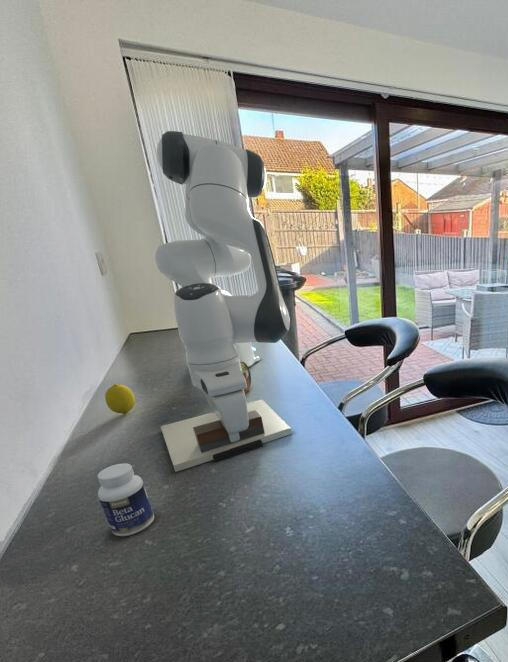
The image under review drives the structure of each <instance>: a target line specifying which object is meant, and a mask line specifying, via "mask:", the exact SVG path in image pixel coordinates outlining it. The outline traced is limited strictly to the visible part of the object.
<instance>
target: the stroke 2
mask: <svg viewBox="0 0 508 662" xmlns="http://www.w3.org/2000/svg"><path fill="white" fill-rule="evenodd" d="M229 451H230V453H231V457H234V456H237V455H240V454H243V453H246V452H248V451H247V447H246V445H245V444H244V445H241V446H238V447H235V448H232V449H229Z"/></svg>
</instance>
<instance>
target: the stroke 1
mask: <svg viewBox="0 0 508 662" xmlns="http://www.w3.org/2000/svg"><path fill="white" fill-rule="evenodd" d="M229 458H232V456H231V453H230V451H229V450H227V451H223V452H220V453H217V454H214V455H213V459H214V460H213V461H214V463H217V462H219V461H223V460H225V459H229Z"/></svg>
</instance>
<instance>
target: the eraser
mask: <svg viewBox="0 0 508 662" xmlns="http://www.w3.org/2000/svg"><path fill="white" fill-rule="evenodd" d="M248 419H249V425H248V429H246V430H244V431H240V432H239V436H240V439H239V440H238V441H241V440H245V439H248V438H251V437H254V436H257V435H260V434H264V433H265V432H264V427H263V422H262V417H261V415H260V414H259V413H258V412H257V411H256V410H254V411H250V412H248ZM193 430H194V433H195V437H196V440H197V444H198V447H199V449H200V451H201V453H203V452H206V451H209V450H213V449H216V448H219V447H222V446H225V445H229V444H232V443H235V442H238V441H235V442H231V441H230V440H229V437H228V433H227V431H226V429H225V428H224V426H223V425H222V423H221V421H220V420H218V421H214V422H211V423H207V424H203V425H200V426H196V427H193Z"/></svg>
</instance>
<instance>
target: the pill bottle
mask: <svg viewBox="0 0 508 662" xmlns="http://www.w3.org/2000/svg"><path fill="white" fill-rule="evenodd" d="M97 479H98V483H99V485H100V487H99V489H98V490H97V491H98V492H97V497H98V500H99V503H100V506H101V508H102V510H103V513H104V516H105V518H106V521H107V523H108V526H109V528H110V530H111V531H110V532H111V533H112V534H113V535H114V536H117V537H128V536H132V535H134V534H138V533H139V532H141V531H143V530H145V529H147V528H148V527H149V526H150V525H151V524H152V523H153V521H154V519H155V514H154V510H153V507H152V504H151V502H150V499H149V495H148V492H147V489H146V487H145V484H144V481H143V479H142V477H140V476H139V475H137V474H135V472H134V469H133V467H132V465H131V464H129V463H125V462H124V463H116V464H113V465H110V466H108V467H105V468H103V469H102V470H101V471H100V472H98V474H97Z"/></svg>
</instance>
